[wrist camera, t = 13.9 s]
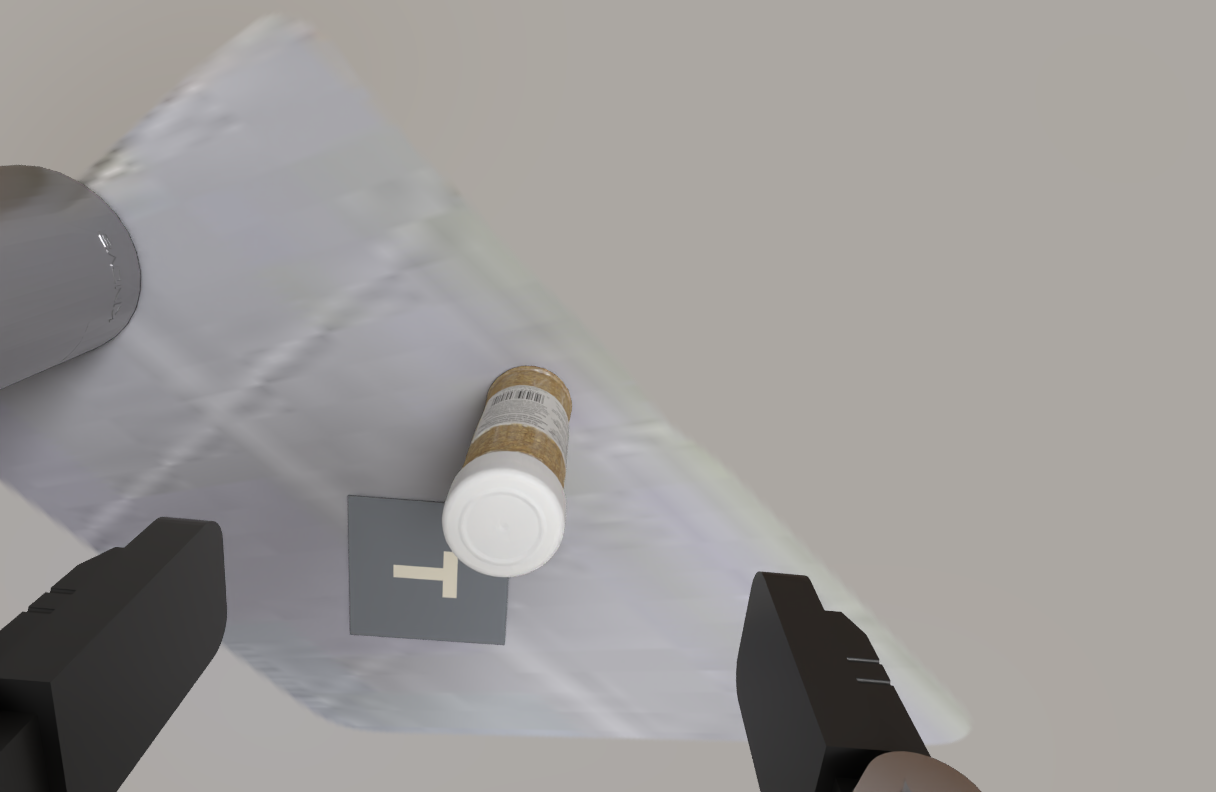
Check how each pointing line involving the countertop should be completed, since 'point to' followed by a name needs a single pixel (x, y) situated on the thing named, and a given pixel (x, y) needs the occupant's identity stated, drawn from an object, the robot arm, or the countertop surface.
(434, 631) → the letter card
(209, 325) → the countertop surface
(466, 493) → the sprinkles bottle
